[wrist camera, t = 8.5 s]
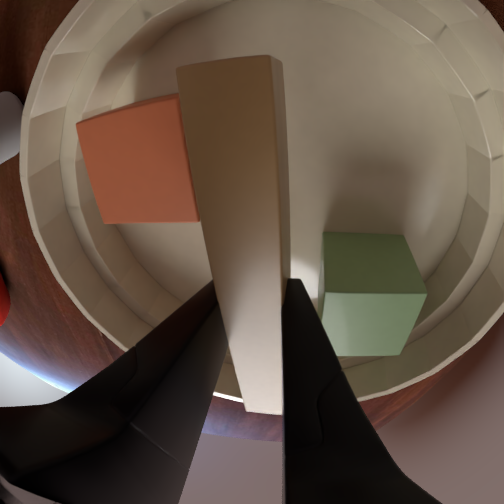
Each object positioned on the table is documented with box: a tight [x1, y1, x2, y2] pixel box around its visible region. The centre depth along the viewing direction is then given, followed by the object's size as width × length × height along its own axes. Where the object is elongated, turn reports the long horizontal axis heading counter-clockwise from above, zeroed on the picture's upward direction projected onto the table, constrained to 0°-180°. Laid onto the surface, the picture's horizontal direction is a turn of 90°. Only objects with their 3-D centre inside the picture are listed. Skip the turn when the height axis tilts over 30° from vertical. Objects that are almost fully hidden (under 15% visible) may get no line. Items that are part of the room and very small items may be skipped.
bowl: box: [20, 0, 504, 402], centre depth 11 cm, size 21×21×5 cm
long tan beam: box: [176, 55, 291, 415], centre depth 8 cm, size 2×12×2 cm, turn 5°
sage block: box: [317, 232, 427, 356], centre depth 12 cm, size 4×4×4 cm
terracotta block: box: [76, 93, 200, 224], centre depth 10 cm, size 4×4×4 cm
